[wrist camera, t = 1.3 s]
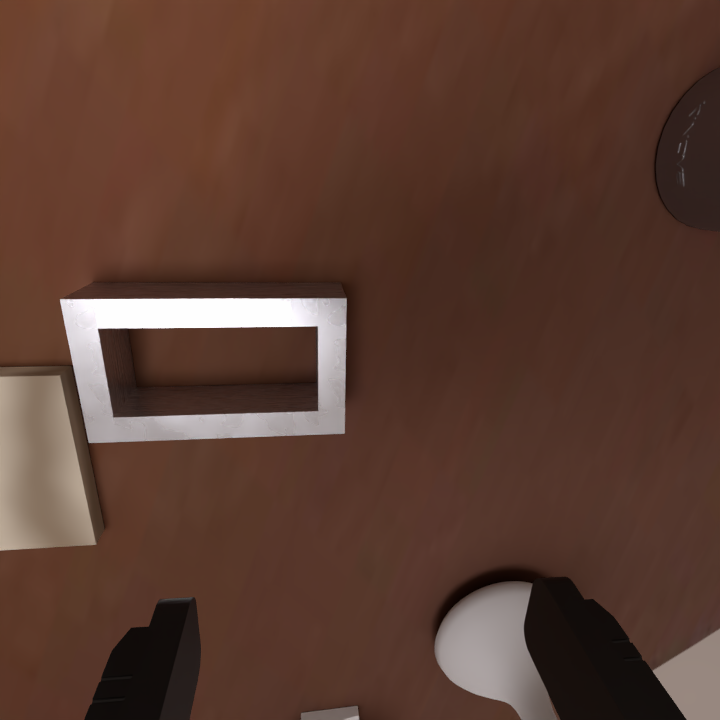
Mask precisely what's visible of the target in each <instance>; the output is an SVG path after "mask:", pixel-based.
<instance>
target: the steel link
mask: <svg viewBox="0 0 720 720" xmlns="http://www.w3.org/2000/svg"><path fill="white" fill-rule="evenodd" d="M60 302H61V307H62V312H63V317H64V322H65V327H66V332H67V337H68V342H69V347H70V352H71V357H72V362H73V367H74V372H75V377H76V382H77V387H78V392H79V397H80V402H81V407H82V412H83V417H84V422H85V427H86V432H87V437H88V442H89V443H103V442H130V441H157V440H184V439H211V438H238V437H265V436H292V435H319V434H345V373H346V308H347V298H346V295H345V293H344V290H343V288H342V285H341V283H91V284H89V285H87V286H85V287H83V288H81V289H79V290H77V291H75V292H73V293H71V294H69V295H67V296H65V297H63V298H62V299H60ZM300 326H316V383H294V384H253V385H211V386H170V387H137V385H136V379H135V372H134V366H133V359H132V353H131V346H130V340H129V333H128V328H202V327H300Z"/></svg>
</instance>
